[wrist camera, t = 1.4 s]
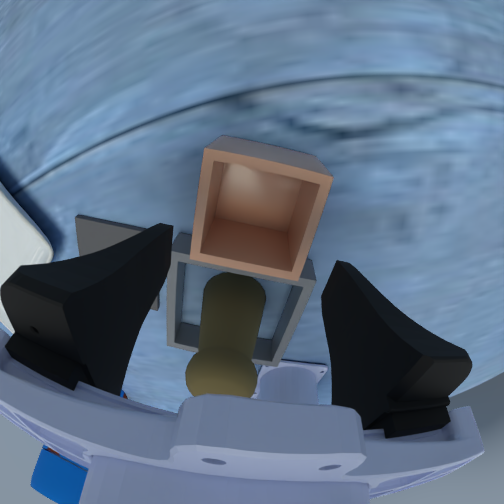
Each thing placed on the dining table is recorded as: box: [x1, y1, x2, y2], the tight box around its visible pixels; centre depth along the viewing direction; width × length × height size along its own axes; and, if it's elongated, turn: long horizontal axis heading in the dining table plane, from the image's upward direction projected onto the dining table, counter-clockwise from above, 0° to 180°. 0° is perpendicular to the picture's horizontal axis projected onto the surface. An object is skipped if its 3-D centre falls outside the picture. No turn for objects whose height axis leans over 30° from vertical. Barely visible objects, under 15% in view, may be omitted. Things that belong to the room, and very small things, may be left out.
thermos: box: [31, 390, 127, 504], centre depth 29 cm, size 11×11×25 cm
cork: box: [185, 272, 266, 398], centre depth 22 cm, size 6×6×11 cm
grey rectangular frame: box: [167, 233, 316, 367], centre depth 25 cm, size 12×12×3 cm
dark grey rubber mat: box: [75, 215, 159, 311], centre depth 25 cm, size 9×9×1 cm
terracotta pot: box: [190, 135, 334, 281], centre depth 18 cm, size 7×7×6 cm
